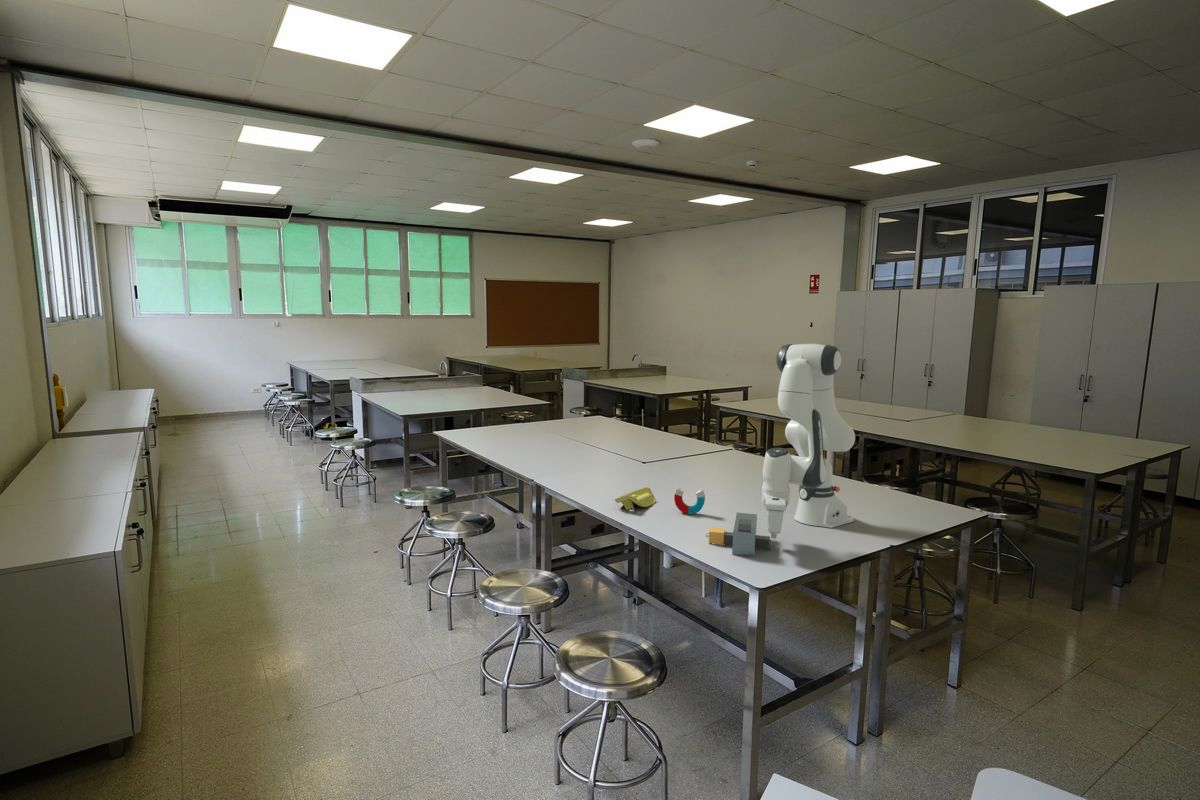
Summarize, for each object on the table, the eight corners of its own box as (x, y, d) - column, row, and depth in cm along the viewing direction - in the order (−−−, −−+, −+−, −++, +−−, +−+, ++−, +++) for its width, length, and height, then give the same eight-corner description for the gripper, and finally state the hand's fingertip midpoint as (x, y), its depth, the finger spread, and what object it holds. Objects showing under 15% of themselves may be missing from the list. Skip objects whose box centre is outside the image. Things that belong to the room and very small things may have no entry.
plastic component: (631, 492, 258) (651, 485, 253) (637, 509, 256) (657, 502, 252) (610, 500, 240) (631, 493, 236) (616, 518, 239) (637, 511, 235)
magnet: (704, 514, 237) (705, 489, 236) (703, 516, 235) (704, 491, 233) (674, 510, 241) (675, 486, 239) (673, 512, 238) (674, 488, 237)
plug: (769, 546, 204) (770, 533, 204) (769, 550, 200) (770, 538, 200) (706, 539, 210) (706, 526, 209) (705, 543, 206) (705, 531, 205)
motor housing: (756, 536, 213) (757, 507, 212) (754, 557, 194) (755, 526, 193) (735, 534, 215) (737, 505, 214) (732, 554, 196) (733, 523, 195)
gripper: (766, 487, 211) (764, 525, 213) (765, 505, 192) (763, 547, 194) (784, 489, 209) (782, 527, 211) (786, 507, 190) (783, 549, 192)
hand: (773, 536), depth 202 cm, fingers closed
